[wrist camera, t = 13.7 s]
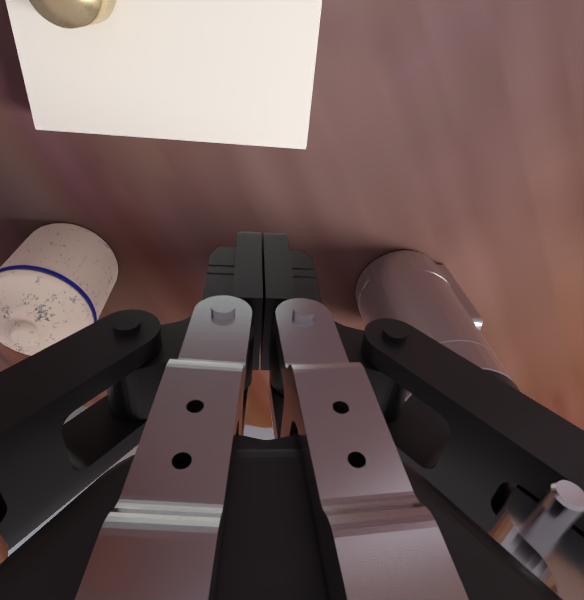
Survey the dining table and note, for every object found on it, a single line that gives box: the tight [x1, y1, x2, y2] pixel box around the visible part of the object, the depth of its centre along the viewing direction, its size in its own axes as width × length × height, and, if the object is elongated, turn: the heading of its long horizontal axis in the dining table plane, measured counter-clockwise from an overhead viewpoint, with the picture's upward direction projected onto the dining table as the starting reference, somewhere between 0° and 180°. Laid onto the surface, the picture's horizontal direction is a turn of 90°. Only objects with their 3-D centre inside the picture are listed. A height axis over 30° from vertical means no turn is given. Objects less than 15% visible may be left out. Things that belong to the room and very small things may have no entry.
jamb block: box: [5, 0, 322, 149], centre depth 32 cm, size 20×11×4 cm, turn 85°
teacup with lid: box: [0, 223, 118, 356], centre depth 39 cm, size 12×9×12 cm
